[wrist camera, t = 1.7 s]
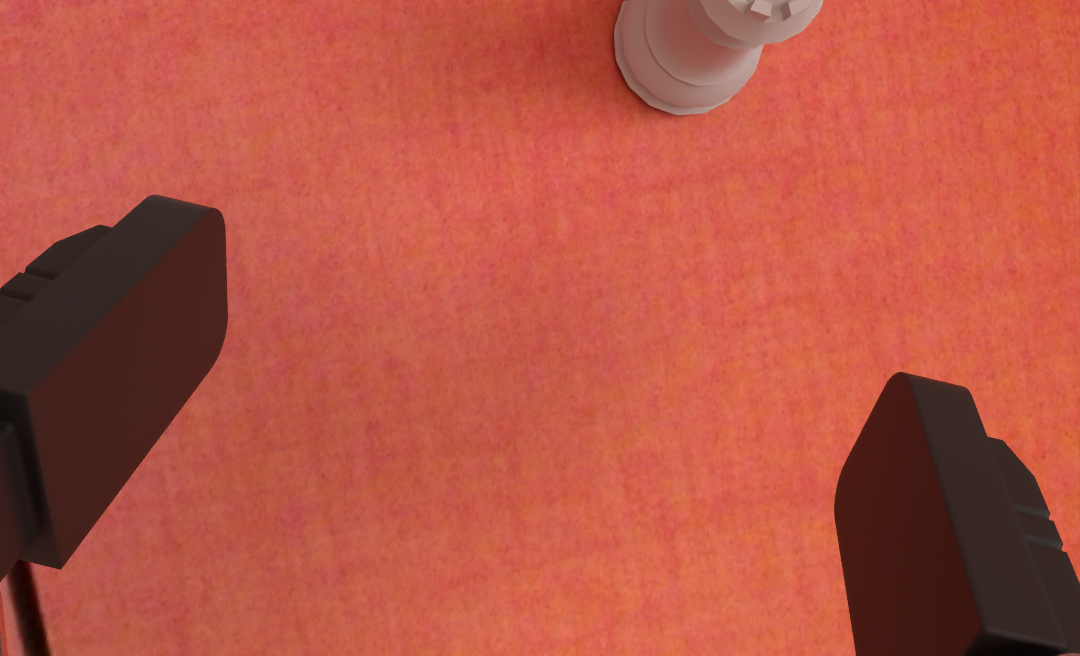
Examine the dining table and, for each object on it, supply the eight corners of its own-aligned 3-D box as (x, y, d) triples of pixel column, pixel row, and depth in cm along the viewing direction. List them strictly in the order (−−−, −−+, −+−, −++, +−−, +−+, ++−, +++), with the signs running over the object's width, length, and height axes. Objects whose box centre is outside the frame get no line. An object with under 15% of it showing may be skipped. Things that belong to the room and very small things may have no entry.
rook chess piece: (730, -45, 28) (846, -166, 20) (766, 97, 29) (893, 33, 21) (593, -9, 28) (656, -118, 20) (631, 134, 28) (709, 84, 20)
